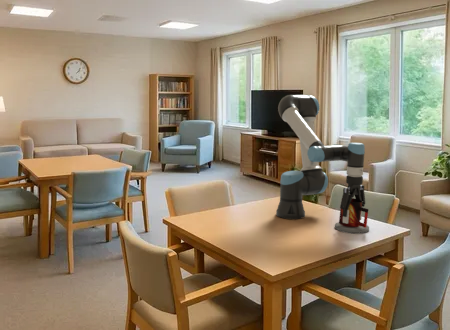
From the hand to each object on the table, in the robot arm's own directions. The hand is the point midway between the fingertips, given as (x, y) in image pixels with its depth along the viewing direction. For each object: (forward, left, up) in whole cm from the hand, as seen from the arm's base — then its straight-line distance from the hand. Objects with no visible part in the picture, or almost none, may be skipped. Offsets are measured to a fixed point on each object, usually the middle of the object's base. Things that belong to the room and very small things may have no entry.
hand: (352, 221), depth 217 cm
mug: (+1, 0, -2) cm, 2 cm away
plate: (0, 0, -4) cm, 4 cm away
